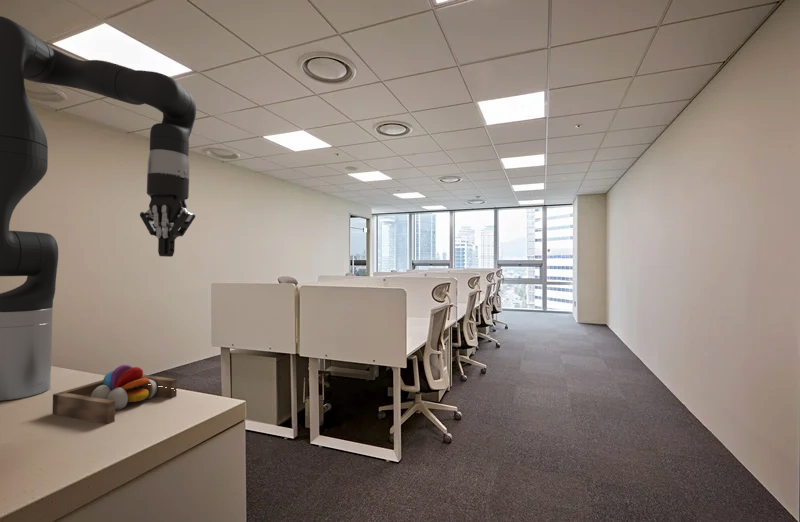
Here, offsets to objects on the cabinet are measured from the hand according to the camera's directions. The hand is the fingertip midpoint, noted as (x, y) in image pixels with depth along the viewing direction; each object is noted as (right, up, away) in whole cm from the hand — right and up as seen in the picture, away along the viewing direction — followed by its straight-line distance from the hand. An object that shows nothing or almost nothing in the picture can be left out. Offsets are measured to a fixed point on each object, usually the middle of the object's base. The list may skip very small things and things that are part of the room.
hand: (166, 256), depth 77 cm
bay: (-4, -29, -8) cm, 30 cm away
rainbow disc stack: (-4, -29, -6) cm, 30 cm away
